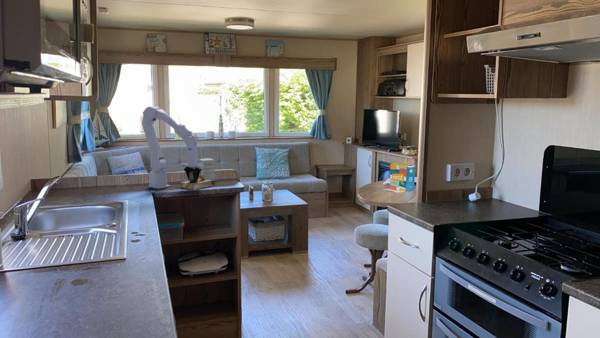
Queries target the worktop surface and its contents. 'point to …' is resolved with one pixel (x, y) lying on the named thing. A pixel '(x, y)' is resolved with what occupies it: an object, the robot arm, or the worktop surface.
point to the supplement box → (208, 168)
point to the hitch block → (196, 184)
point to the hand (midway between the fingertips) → (193, 181)
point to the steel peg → (191, 177)
